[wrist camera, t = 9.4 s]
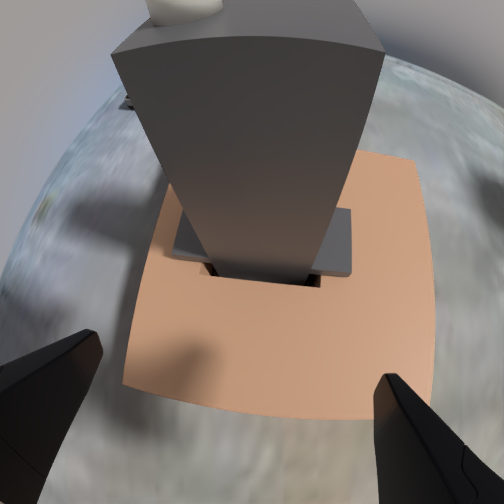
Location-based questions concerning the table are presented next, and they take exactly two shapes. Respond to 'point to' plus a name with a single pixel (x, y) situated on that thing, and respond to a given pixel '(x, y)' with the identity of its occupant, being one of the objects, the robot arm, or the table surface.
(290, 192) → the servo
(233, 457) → the table surface
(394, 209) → the plate
